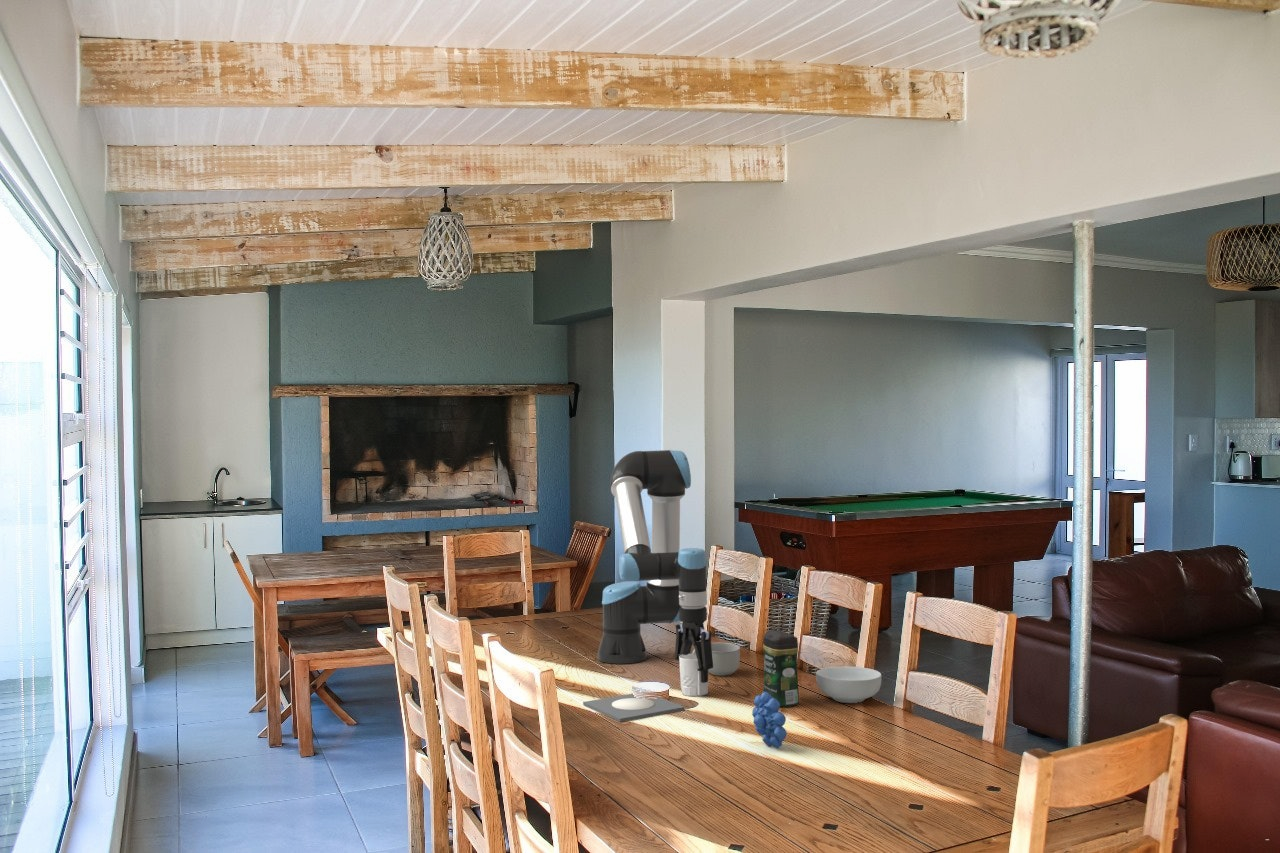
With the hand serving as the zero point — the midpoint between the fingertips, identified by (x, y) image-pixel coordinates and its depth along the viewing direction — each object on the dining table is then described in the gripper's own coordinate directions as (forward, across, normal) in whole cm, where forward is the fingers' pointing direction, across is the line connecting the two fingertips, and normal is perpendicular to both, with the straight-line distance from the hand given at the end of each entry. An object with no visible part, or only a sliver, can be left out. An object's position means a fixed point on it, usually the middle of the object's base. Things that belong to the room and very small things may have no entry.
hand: (694, 690), depth 292 cm
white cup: (+1, 0, 0) cm, 1 cm away
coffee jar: (+1, +21, +13) cm, 25 cm away
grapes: (+1, +48, -13) cm, 50 cm away
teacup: (+1, -15, +18) cm, 23 cm away
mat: (+1, +3, -21) cm, 21 cm away
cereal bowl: (+1, +28, +30) cm, 41 cm away
